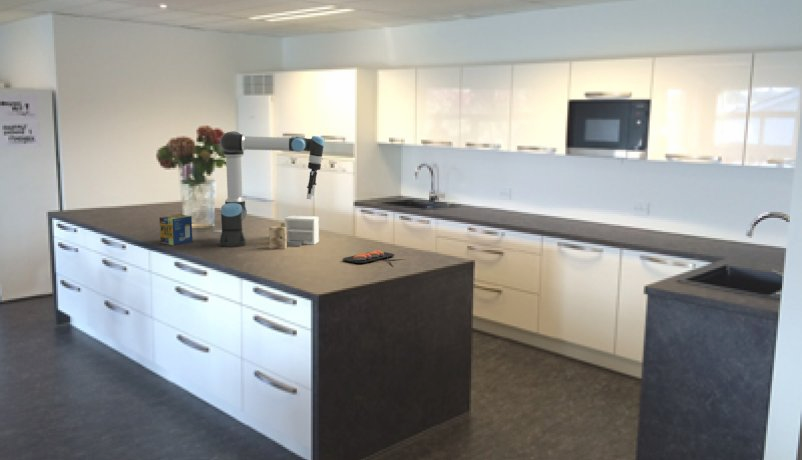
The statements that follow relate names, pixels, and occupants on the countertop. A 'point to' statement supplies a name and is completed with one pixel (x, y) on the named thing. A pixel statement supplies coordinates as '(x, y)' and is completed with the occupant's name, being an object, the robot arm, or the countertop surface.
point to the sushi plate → (370, 257)
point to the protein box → (176, 229)
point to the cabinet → (302, 230)
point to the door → (278, 237)
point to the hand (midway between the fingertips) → (310, 197)
